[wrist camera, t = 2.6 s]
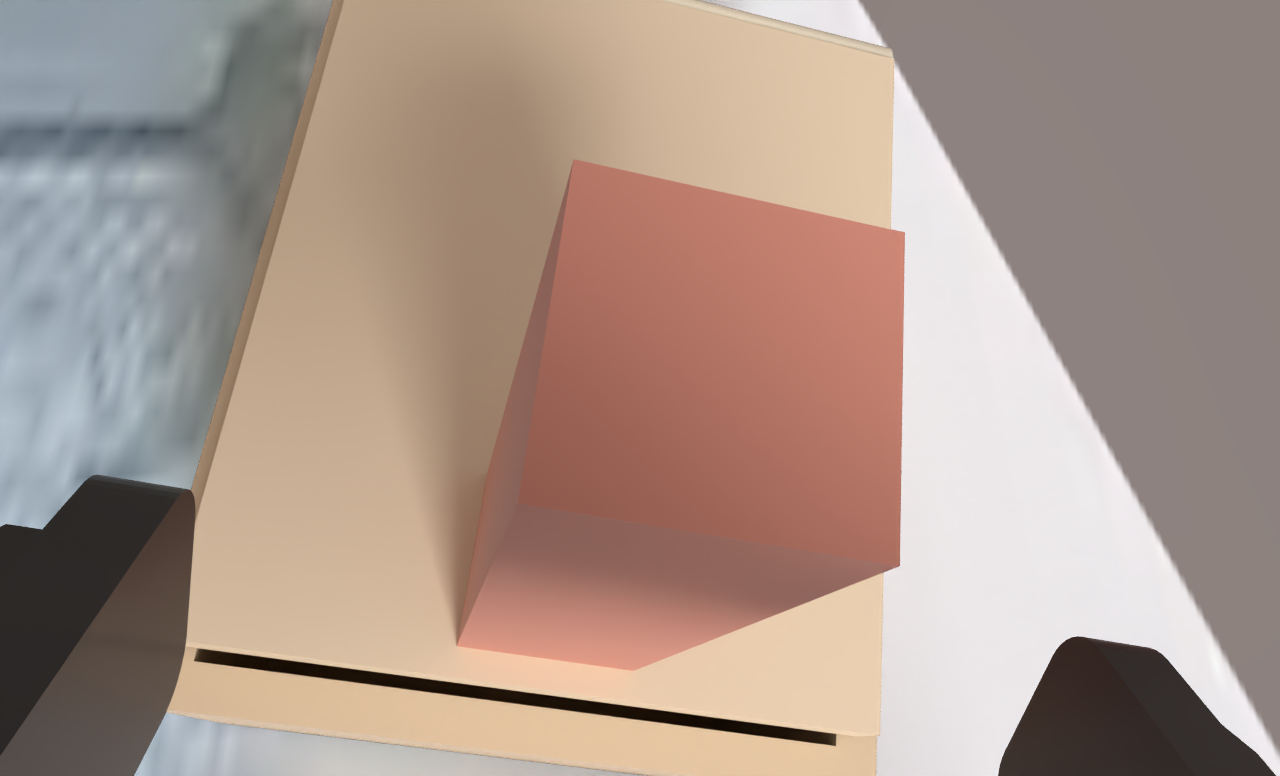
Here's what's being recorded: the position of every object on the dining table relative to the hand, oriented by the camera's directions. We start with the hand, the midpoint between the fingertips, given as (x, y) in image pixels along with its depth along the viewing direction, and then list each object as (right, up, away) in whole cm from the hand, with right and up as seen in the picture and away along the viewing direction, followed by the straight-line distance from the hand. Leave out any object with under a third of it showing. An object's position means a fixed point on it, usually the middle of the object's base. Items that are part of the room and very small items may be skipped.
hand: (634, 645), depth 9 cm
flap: (-1, +4, +11) cm, 12 cm away
